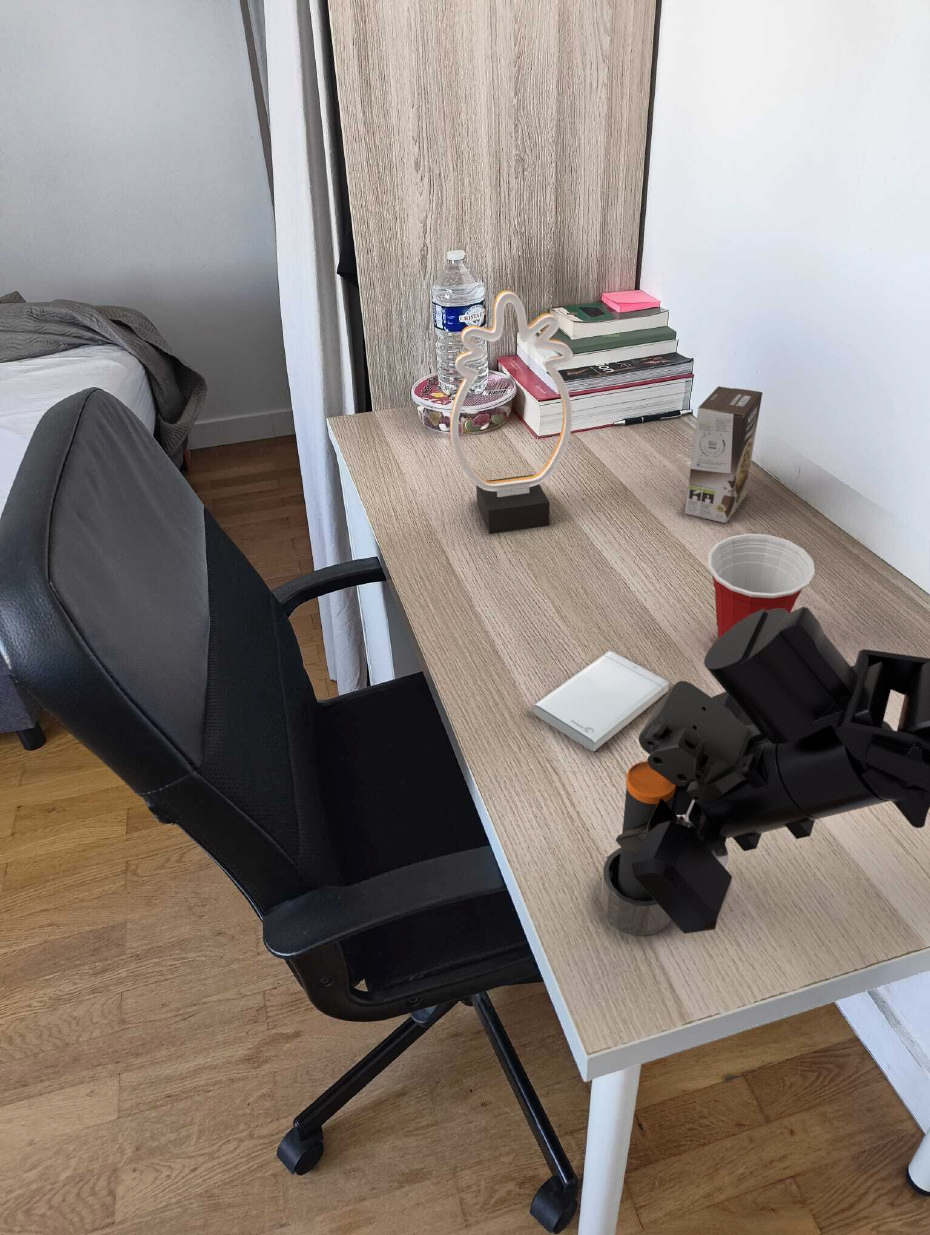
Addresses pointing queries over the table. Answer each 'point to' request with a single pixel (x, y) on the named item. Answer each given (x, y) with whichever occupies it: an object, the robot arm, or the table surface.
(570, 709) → the hard drive
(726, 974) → the table surface
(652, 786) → the orange-capped black cylinder
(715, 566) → the plastic cup
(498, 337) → the lamp
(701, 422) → the coffee box
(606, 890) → the socket
